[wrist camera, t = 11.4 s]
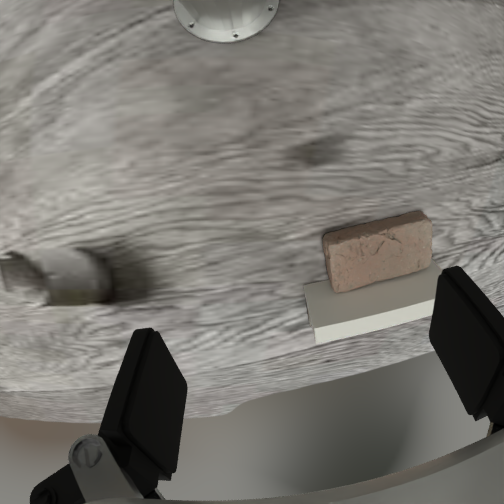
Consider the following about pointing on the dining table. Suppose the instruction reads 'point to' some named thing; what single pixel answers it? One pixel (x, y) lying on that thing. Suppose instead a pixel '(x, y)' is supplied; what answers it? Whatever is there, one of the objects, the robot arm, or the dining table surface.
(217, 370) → the dining table surface
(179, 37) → the dining table surface
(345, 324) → the grey bookend
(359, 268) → the brick
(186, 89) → the dining table surface
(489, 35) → the dining table surface
